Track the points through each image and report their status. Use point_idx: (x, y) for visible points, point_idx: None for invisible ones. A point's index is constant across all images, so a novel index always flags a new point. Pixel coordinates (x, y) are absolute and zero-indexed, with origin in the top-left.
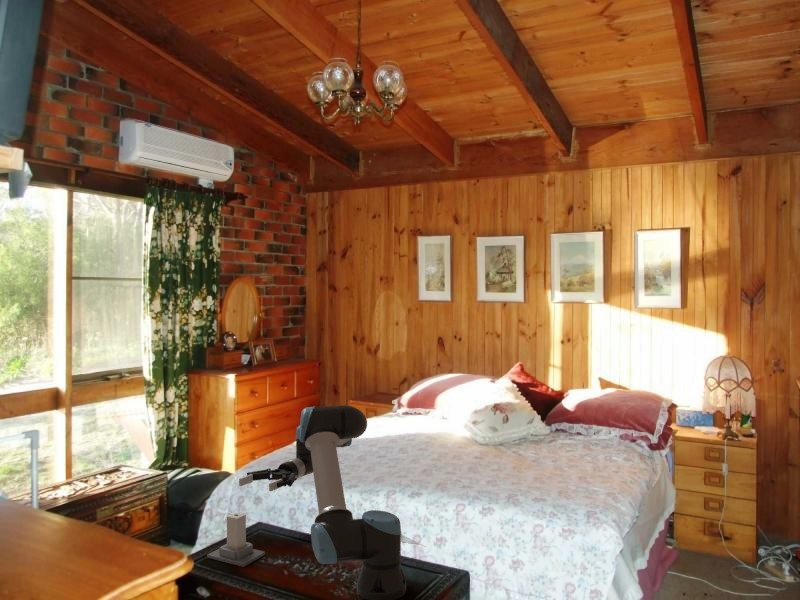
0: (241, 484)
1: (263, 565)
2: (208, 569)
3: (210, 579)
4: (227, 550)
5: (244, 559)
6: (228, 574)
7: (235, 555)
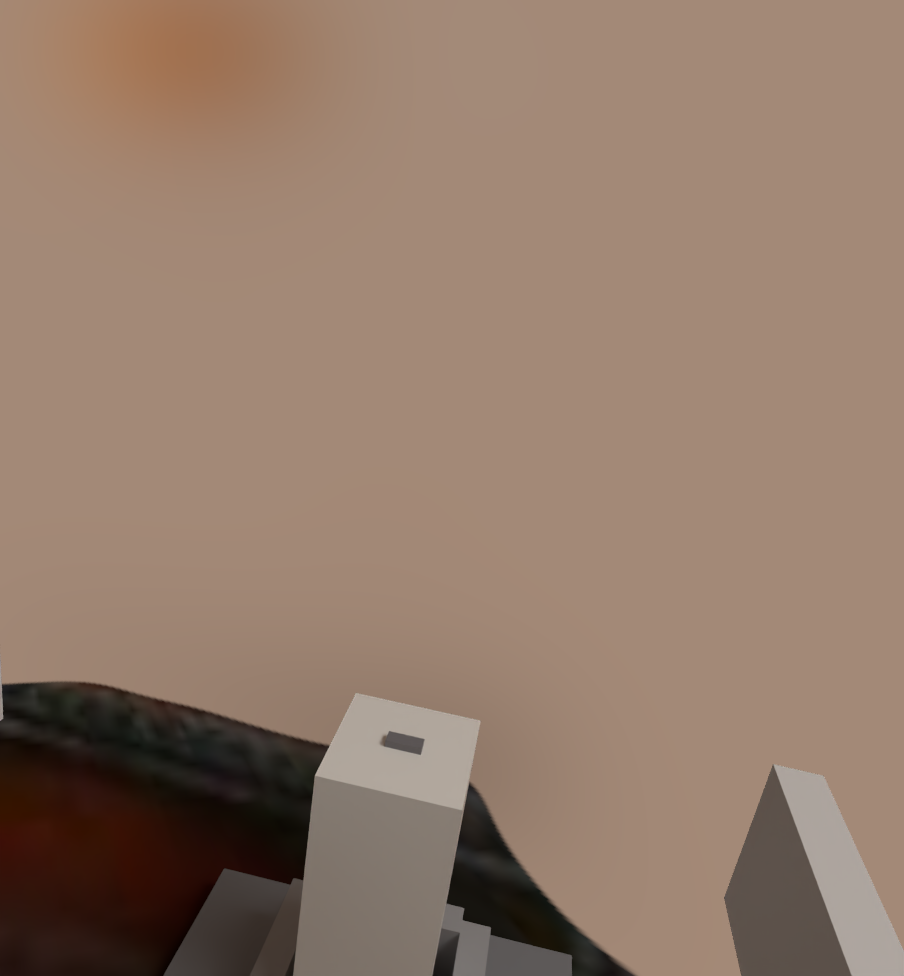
0: (737, 889)
1: (69, 946)
2: None
3: None
4: None
5: (242, 933)
6: (290, 804)
7: None
